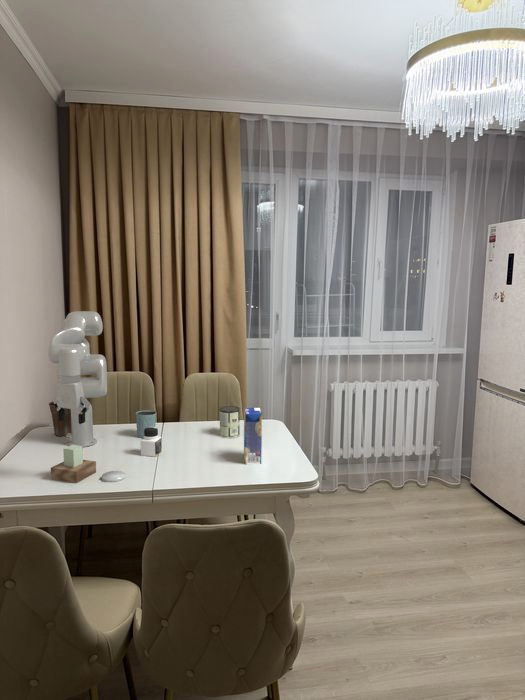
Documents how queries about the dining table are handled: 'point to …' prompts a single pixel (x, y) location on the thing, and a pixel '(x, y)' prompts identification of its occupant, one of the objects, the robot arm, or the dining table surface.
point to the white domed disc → (113, 476)
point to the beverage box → (252, 435)
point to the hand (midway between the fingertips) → (72, 421)
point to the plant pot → (61, 426)
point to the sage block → (73, 455)
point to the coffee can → (229, 421)
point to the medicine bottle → (151, 442)
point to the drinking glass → (144, 421)
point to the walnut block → (73, 471)
